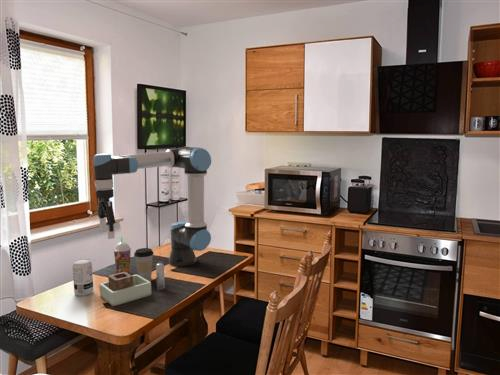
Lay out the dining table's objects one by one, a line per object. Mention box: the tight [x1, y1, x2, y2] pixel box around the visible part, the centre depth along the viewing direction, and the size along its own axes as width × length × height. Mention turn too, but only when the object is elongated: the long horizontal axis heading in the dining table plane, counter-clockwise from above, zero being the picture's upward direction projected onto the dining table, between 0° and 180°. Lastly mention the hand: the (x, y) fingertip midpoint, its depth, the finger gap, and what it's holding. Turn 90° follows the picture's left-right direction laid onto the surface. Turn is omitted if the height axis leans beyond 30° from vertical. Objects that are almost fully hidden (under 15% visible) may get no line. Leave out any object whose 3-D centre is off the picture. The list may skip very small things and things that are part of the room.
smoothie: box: [113, 236, 131, 274], centre depth 213 cm, size 8×8×20 cm
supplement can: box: [71, 258, 95, 297], centre depth 189 cm, size 8×8×15 cm
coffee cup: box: [133, 247, 155, 281], centre depth 206 cm, size 9×9×15 cm
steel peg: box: [155, 262, 166, 291], centre depth 194 cm, size 4×4×12 cm
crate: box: [99, 273, 152, 307], centre depth 187 cm, size 18×14×6 cm
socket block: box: [107, 272, 133, 292], centre depth 185 cm, size 8×8×10 cm
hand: (107, 235), depth 187 cm, fingers open, 13 cm apart
